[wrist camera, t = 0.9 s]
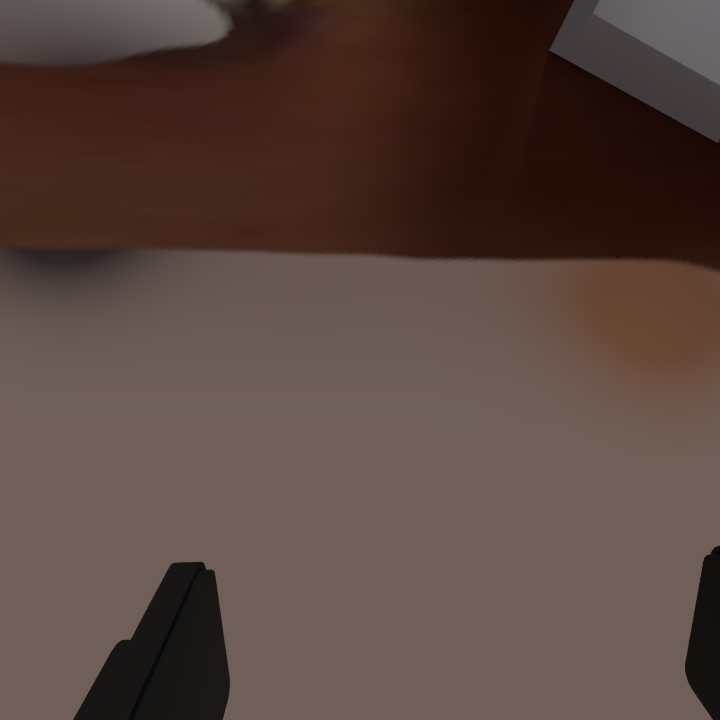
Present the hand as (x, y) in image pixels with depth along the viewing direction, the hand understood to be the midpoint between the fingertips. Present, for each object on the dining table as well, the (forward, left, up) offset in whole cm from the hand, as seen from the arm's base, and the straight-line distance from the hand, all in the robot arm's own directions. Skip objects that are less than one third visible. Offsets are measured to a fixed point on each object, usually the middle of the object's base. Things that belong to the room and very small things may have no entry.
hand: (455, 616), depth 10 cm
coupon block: (-21, +7, -27) cm, 35 cm away
